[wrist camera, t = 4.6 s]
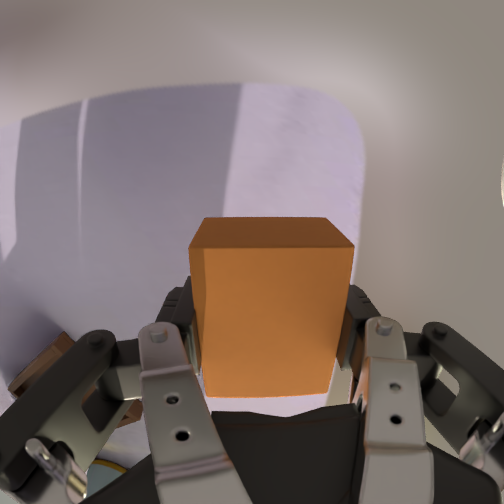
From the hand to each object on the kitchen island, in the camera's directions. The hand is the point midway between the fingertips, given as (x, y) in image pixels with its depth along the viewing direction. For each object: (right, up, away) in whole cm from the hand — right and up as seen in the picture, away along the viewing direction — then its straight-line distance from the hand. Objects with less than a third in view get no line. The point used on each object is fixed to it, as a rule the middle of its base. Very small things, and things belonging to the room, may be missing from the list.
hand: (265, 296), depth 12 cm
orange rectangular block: (0, 0, +1) cm, 1 cm away
